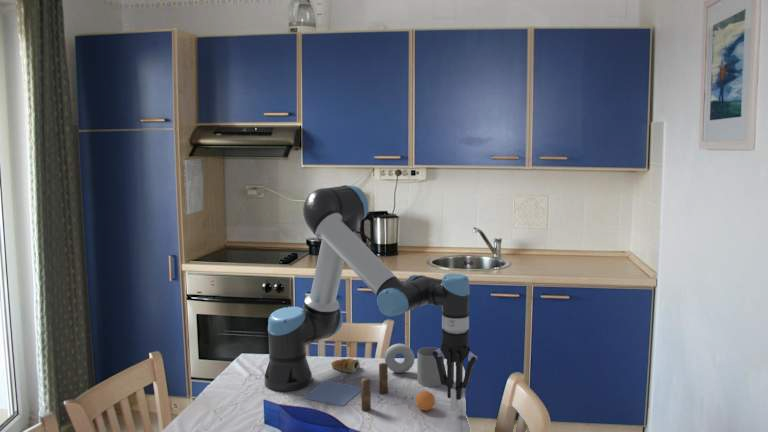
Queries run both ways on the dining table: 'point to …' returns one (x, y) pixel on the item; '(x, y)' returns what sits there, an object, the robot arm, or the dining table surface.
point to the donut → (403, 365)
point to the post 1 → (365, 394)
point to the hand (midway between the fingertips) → (454, 409)
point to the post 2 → (383, 378)
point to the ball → (425, 400)
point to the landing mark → (333, 393)
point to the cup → (427, 368)
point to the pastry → (346, 365)
